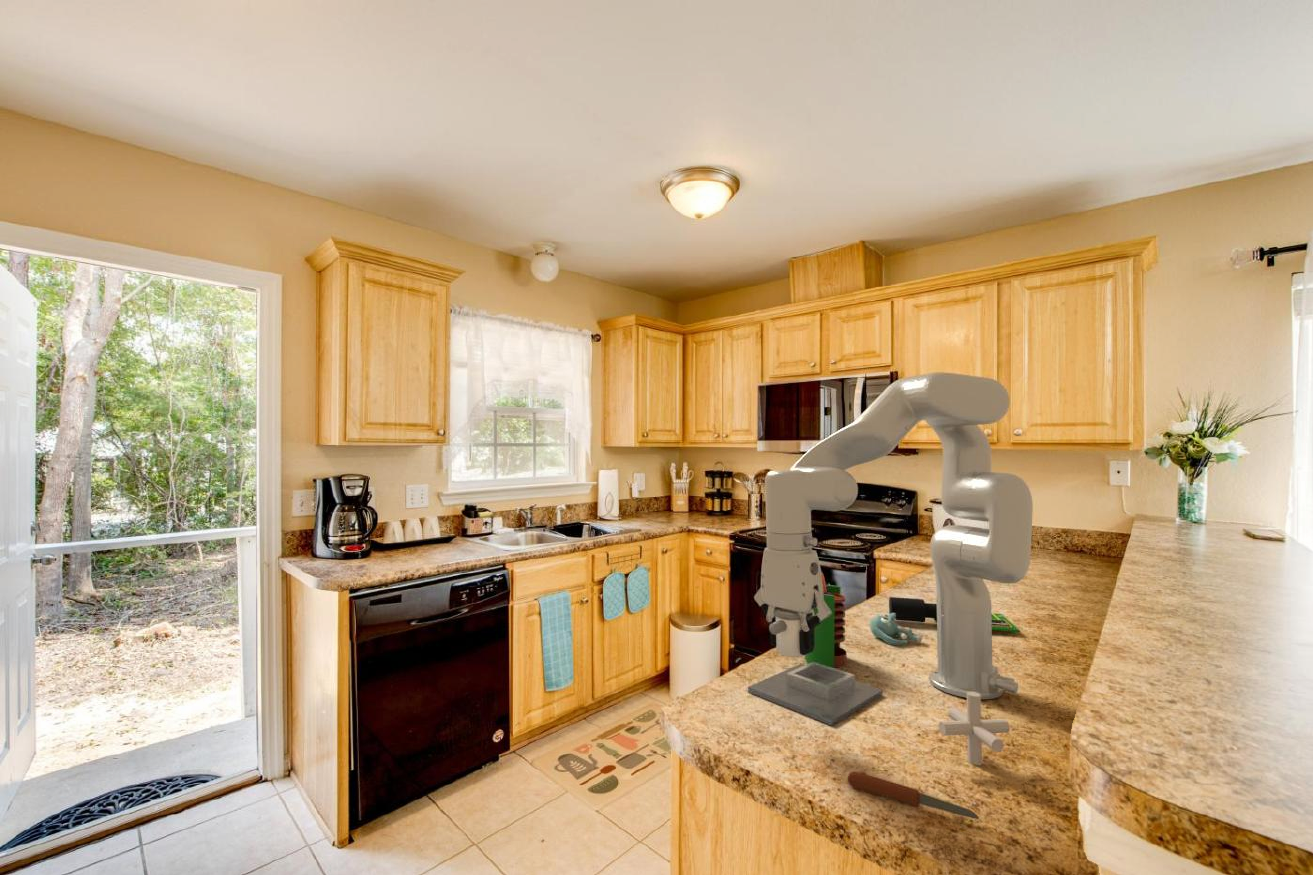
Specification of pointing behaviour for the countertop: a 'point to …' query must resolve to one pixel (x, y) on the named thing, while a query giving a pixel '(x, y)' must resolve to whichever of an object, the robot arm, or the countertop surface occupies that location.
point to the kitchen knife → (903, 793)
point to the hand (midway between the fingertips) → (791, 647)
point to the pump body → (787, 632)
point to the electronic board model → (935, 613)
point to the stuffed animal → (892, 630)
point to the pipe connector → (975, 728)
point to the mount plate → (817, 692)
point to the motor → (830, 630)
